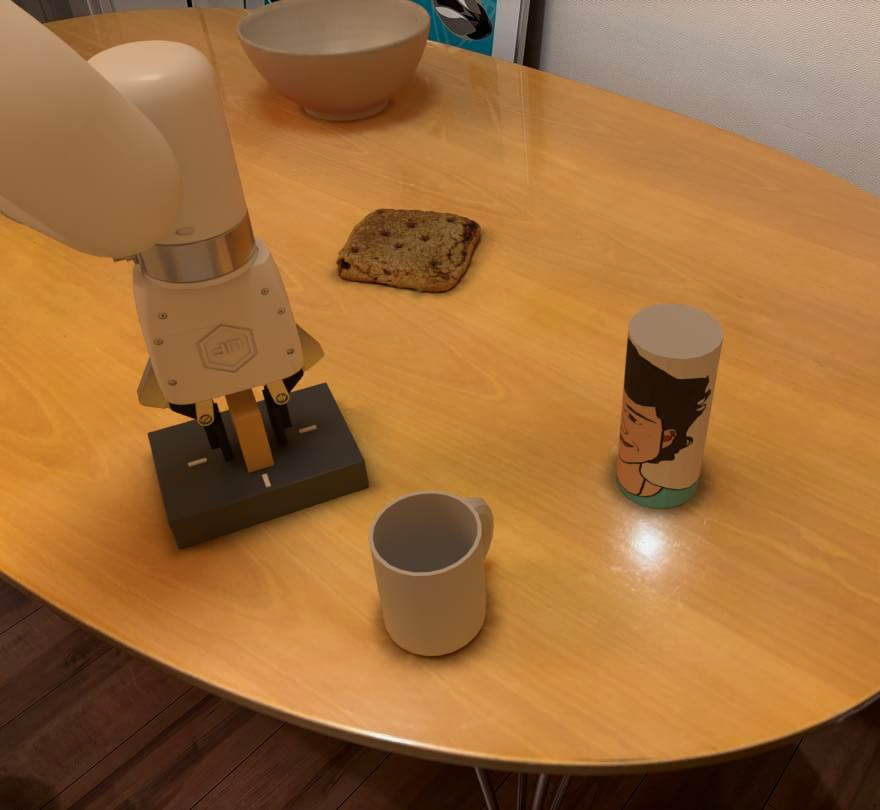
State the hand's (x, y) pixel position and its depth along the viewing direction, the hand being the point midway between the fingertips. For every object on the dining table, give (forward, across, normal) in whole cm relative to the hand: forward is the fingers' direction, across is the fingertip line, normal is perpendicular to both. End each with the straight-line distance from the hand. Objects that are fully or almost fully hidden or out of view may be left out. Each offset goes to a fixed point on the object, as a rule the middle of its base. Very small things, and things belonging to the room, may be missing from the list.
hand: (252, 440), depth 71 cm
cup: (+4, +9, -19) cm, 21 cm away
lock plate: (+4, 0, 0) cm, 4 cm away
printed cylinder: (+4, +29, -15) cm, 33 cm away
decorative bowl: (+4, +28, +72) cm, 78 cm away
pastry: (+4, +23, +27) cm, 36 cm away
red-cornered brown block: (+1, 0, 0) cm, 1 cm away
